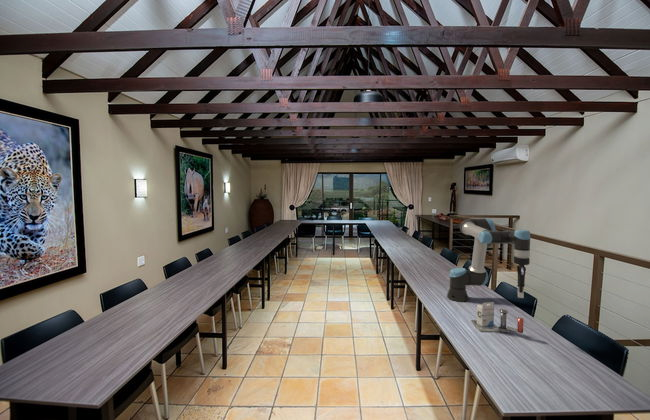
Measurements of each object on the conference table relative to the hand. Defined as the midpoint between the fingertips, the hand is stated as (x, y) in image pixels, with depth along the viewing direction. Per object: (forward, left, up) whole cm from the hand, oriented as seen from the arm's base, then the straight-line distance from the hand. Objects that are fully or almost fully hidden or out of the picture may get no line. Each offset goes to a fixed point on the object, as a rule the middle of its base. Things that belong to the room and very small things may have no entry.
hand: (520, 297), depth 169 cm
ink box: (-11, -14, -22) cm, 28 cm away
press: (-10, -12, -23) cm, 28 cm away
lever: (-1, -2, -21) cm, 21 cm away
